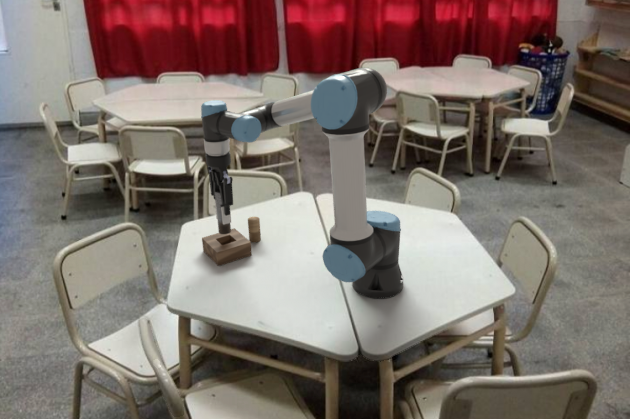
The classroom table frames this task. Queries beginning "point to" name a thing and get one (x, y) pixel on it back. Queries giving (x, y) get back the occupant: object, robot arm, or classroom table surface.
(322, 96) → the robot arm
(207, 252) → the socket block
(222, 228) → the metal pin
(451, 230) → the classroom table surface
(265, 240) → the classroom table surface
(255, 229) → the oak dowel
